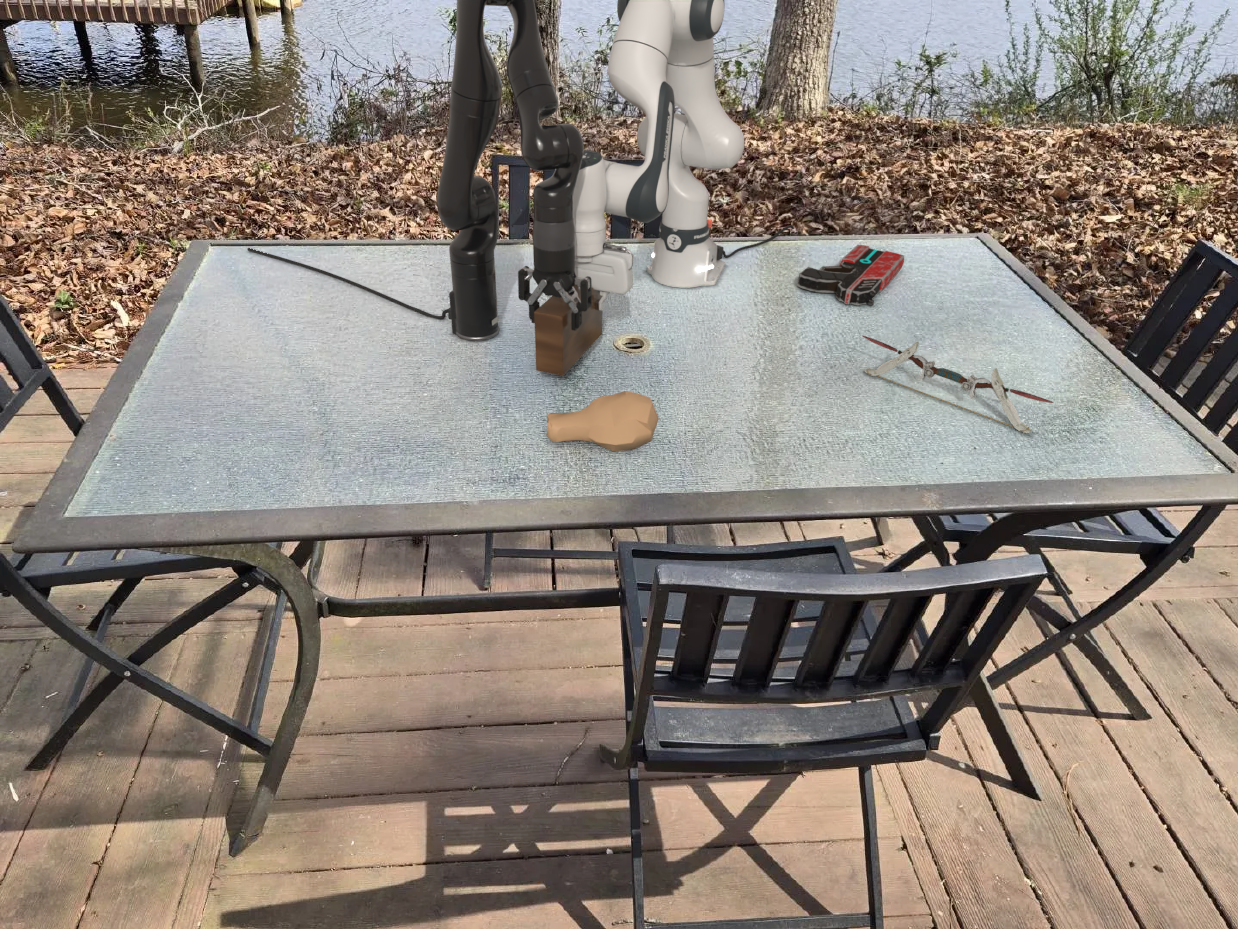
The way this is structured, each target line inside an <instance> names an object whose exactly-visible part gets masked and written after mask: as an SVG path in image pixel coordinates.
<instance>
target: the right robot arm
mask: <svg viewBox="0 0 1238 929" xmlns="http://www.w3.org/2000/svg"><path fill="white" fill-rule="evenodd" d="M725 6H726V5H725V0H617V5H616V8H617V9H616V12H617V13H616V14H617V18H618V22H619V23H618V26H617V28H616V32H615V36H614V39H613V42H612V46H611V50H610V53H609V57H608V63H607V76H608V79H609V82H610V84H611V86H612V88H613V89H614V90H615V92H616V93H617V94H618V95H619V96H620V97H621V98H622V99H623V100H625V101H626V102H627V103H629V104H630V105H632V106H634V107H635V108H637V109H639V110H640V111H641V112H643V113H644V114H645V117H644V118H643V119H642V120H641V122H640V124H639V125H638V128H637V133H636V143H637V147H638V149H639V151H640V153H641V155H642V156H643V157H644V161H643V163H642V164H641V165H639V166H637V165H632V164H625V163H618V162H617V161H610V160H606V159H604V156H603V155H602V154H601V153H599V152H598V151H595V150H589V149H585V150H584V152H583V158H582V163H581V166H580V170H579V173H578V177H577V182H576V186H575V190H574V195H573V219H574V227H575V274H576V276H577V277H580V278H586V277H587V276H589V277H591V280H592V288H593V289H594V290H599V291H600V295H601V296H602V295H603V296H602V298H601V299H598V300H597V301H596V302H595V310H600V311H602V312H603V310H604V309H605V306H606V305H605V304H606V303H605V302H606V300H607V298H608V297H609V295H610V294H616V295H623V296H624V295H626V294H627V293H629V291H631V289H632V288H633V286H634V275H633V274H634V273H633V266H634V253H633V252H632V251H631V250H630V249H628V248H627V247H626V246H624V245H615V244H612V243H607V221H606V217H605V213H606V214H607V215H613V216H619V217H624V218H628V219H631V220H633V221H636V222H640V223H644V224H648V223H650V222H652V221H655V219H658V217H660V216H661V220H660V223H659V227H658V228H659V229H658V231H659V234H658V235H659V237H658V238H657V239H656V240H655V241H654V243H653V249H652V253H651V259H652V260H651V265H649V266H646V272H647V273H648V274H649V275H651V277H652V279H653V280H654V281H655V282H657V283H659V284H661V285H663V286H666V287H667V286H668V287H672V288H679V289H680V288H682V289H688V288H690V289H691V288H697V287H703V286H706V287H707V286H709V287H710V286H711V287H712V286H716V285H717V283H718V281H719V279H720V277H721V275H722V273H723V271H724V269H725V267H726V262H725V261H723V260H722V259H723V257H724V259H729V258H731V257H733V256H734V255H735V254H736V253H738V252H741V251H743V250H748V249H751V248H756V247H758V246H761V245H763V244H767V243H768V242H771V241H772V240H774V239H775V238H777V237H778V236H779V235H780V234H782V233H783V232H785V231H786V230H788V229H791V230H795V226H793V225H791V224H789V225H787V226H784V227H783V228H781V229H780V230H778V231H777V232H776V233H775V234H773V235H772V236H771V237H768V238H767V239H764V240H762V241H759V242H757V243H753V244H749V245H745V246H741V247H739V248H736V249H735V250H734V251H732V252H731V253H729V254H727V253H726V251H725V250H724V247H723V246H721V245H718V244H716V242H714V240H712V238H710V229H711V228H712V227H713V224H714V223H713V219H708V216H709V203H710V194H709V191H708V189H707V187H706V185H705V184H704V183H703V182H701V181H700V180H699V179H698V178H696V177H695V176H694V174H693V173H692V171H691V168H690V167H694V168H701V169H707V170H725V169H732V168H733V167H734V166H736V165H737V164H738V163H739V161H740V160H741V158H742V156H743V154H744V150H745V135H744V132H743V131H742V129H741V127H740V126H739V125H738V124H737V123H736V122H734V120H732V119H731V118H730V117H729V115H728V114H727V112H726V111H725V110H724V107H723V106H722V103H721V102H720V99H719V97H718V94H717V88H716V80H715V45H714V37H715V36H716V35H717V34H718V33H719V32H720V30H721V28H722V25H723V22H724V17H725ZM675 106H676V107H677V108H678V109H680V110H681V111H682V113H683V114H682V113H675V109H676V108H675ZM534 268H535V267H534V266H533V269H534ZM575 285H577V284H575Z"/></svg>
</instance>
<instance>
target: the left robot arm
mask: <svg viewBox="0 0 1238 929" xmlns="http://www.w3.org/2000/svg"><path fill="white" fill-rule="evenodd" d="M486 6H488V7H489V6H492V7H507V9H508V10H509V13H510V15H511V18H512V21H513V34H512V39H511V42H510V46H509V50H508V56H507V58H506V59H507V60H506V73H507V74H506V75H507V79H508V82H509V86H510V89H511V92H512V95H513V98H514V101H515V102H514V103H515V105H516V108H517V112H518V113H517V114H518V119H519V120H518V121H519V130H520V131H519V132H520V153H521V156H522V160H523V161H524V163H525V164H526V166H527V167H528V168H530V169H531V170H533V171H535V172H543V171H551V170H554V172H553V174H552V176H550V177H549V178H546V179H544V180H542V181H540V182H538V183H537V184H536V185H535V186H534V187H533V191H532V204H533V205H532V206H533V224H532V235H531V236H532V237H531V238H532V250H533V251H532V252H533V253H532V256H533V268H530V266H529V265H525V266H523V267H521V268H520V269H519V270H518V272H517V288H518V289H517V292H518V299H519V300H520V301H524V302H526V304H528V317H529V320H531V323H532V324H535V321H534V312H535V311H536V310H537V309H538V308H539V307H540V306H541V305H540V301H539V299H540V297H541V296H542V295H543V294H544V296H546V297H547V296H548V297H552V296H555V297H558V298H561V297H562V298H563V300H564V301H565V303H566V304H568V305H569V307H570V308H571V310H572V311H573V312H572V313H571V329H572V330H573V331H576V330H577V329H578V328H579V327H580V326H581V324H582V311H584V312H585V311H587V310H588V309H589V308H590V307H591V306H592V280H591V277H589V276H587V277H586V278H580V277H577V276H576V274H575V227H574V219H573V195H574V190H575V186H576V182H577V177H578V173H579V170H580V166H581V163H582V158H583V152H584V148H585V146H584V139H583V136H582V134H581V131H580V130H579V129H578V128H577V126H575V125H573V124H571V123H559V124H549V125H541V123H540V121H543V120H545V119H547V118H549V117H551V116H552V115H554V114H555V113H556V112H557V110H558V108H559V98H558V94H557V92H556V88H555V84H554V82H553V79H552V77H551V73H550V70H549V67H548V64H547V60H546V57H545V54H544V50H543V45H542V41H541V35H540V27H539V20H538V16H537V9H536V4H535V0H456V32H455V33H456V34H455V49H454V58H453V70H452V79H451V86H450V98H449V112H448V113H449V114H448V125H447V133H446V141H445V149H444V158H443V162H442V167H441V173H440V177H439V182H438V188H437V193H436V209H437V213H438V216H439V219H440V221H441V222H442V224H443V225H444V227H446V228H447V229H449V230H451V231H459V232H458V234H457V235H456V236H455V238H453V240H452V241H451V242H450V244H449V247H448V251H449V263H450V264H449V265H450V275H451V276H450V277H451V286H452V290H451V291H450V292H448V297H449V308H446V309H444V310H443V311H442V313H441V315H435V314H432V313H429V312H427V311H424V310H422V309H420V308H417V307H415V306H412V305H409V304H407V303H405V302H402V301H400V300H398V299H396V298H394V297H392V296H389V295H386V294H384V293H382V292H380V291H377V290H374V289H372V288H370V287H367V286H365V285H363V284H361V283H358V282H356V281H353V280H351V279H349V278H346V277H342V276H340V275H337V274H335V273H331V272H329V271H326V270H323V269H320V268H317V267H314V266H311V265H308V264H306V263H302V262H299V261H295V260H292V259H288V258H285V257H282V256H279V255H275V254H271V253H268V252H265V253H263V252H264V251H261V250H258V251H256V250H257V249H255V248H251V247H247V251H248V252H250V253H253V254H257V255H260V256H264V257H267V258H271V259H274V260H278V261H280V262H285V263H287V264H291V265H295V266H298V267H301V268H305V269H307V270H310V271H314V272H316V273H319V274H322V275H325V276H327V277H330V278H333V279H335V280H336V279H337V281H341V282H344V283H347V284H349V285H352V286H353V287H356V288H359V289H362V290H363V291H366V292H369V293H371V294H374V295H376V296H378V297H381V298H382V299H384V300H387V301H389V302H392V303H394V304H395V305H396V304H397V305H399V306H400V307H403V308H406V309H408V310H410V311H412V312H415V313H418V314H420V315H423V316H425V317H427V318H431V319H435V320H439V321H440V320H445V318H446V315H447V314H448V315H447V316H448V320H451V321H450V322H451V332H452V334H453V335H456V336H457V337H458V338H460V339H462V340H464V341H470V342H479V341H481V342H482V341H486V340H487V341H488V340H491V339H493V338H494V337H495V338H496V337H497V335H499V333H500V327H499V321H500V320H499V312H498V311H499V310H498V296H497V295H498V294H497V293H498V292H497V276H496V275H497V274H496V261H495V259H496V258H495V248H496V246H497V243H498V203H497V202H498V201H497V196H496V194H495V190H494V188H493V186H492V185H491V183H490V182H489V181H488V180H487V179H486V178H484V177H482V176H480V175H475V172H476V169H477V165H478V163H479V162H480V158H481V156H482V155H483V153H484V151H485V149H486V148H487V146H488V144H489V142H490V140H491V138H492V136H493V135H494V132H495V130H496V127H497V125H498V122H499V117H500V110H501V104H502V96H503V95H502V94H503V83H502V77H501V75H500V72H499V70H498V67H497V65H496V62H495V60H494V58H493V56H492V54H491V52H490V49H489V47H488V45H487V42H486V38H485V31H484V16H485V15H484V14H485V7H486ZM250 248H251V249H250ZM253 249H254V250H253ZM260 251H261V252H260ZM267 253H268V254H267ZM534 267H535V268H534ZM532 278H533V280H534V282H535V283H536V285H537V286H536V287H535V288H534V290H533V291H532V292H531V279H532ZM575 284H577V285H578V289H579V290H580V291H581V301H580V299H579V298H578V293H577V292H576V290H575V288H574V287H573V286H574V285H575ZM568 292H569V294H570V296H569V295H568Z"/></svg>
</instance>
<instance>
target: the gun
mask: <svg viewBox="0 0 1238 929" xmlns="http://www.w3.org/2000/svg"><path fill="white" fill-rule="evenodd" d="M904 264H905V255H904V254H902V253H898V252H895V251H888V250H884V251H883V250H879V249H874V248H871V247H870V245H864V244H857V245H856V246H854V247H853V248H852V249H851V250H850V251H849V252H848V253H847V254H845V256H843V257H842V258H841V259H840V262H839V264H838V265H828V266H825V265H824V266H822V267H820V268H819V269H817V268H814V267H810V266H806V268H804V269H803V270H802V271H801V272H799V273H798V278H797V284H796V286H797V287H799V288H800V289H803V290H807V291H810V292H814V293H826V294H828V293H829V294H835V298H836V299H837V300H838V302H843V304H845V305H854V306H860V305H867V306H872V307H874V304H875V300H874V298H875V297H876V296H877V295H878V294H879V293H882V292H883V291H884V290H885V289H886V288H887V287H888V286H889V285H890V284H891V282H892V281H893V280H894V279H895V277H896V276H897V275H898V273H899V272H900V271H901V270H902V268H903V265H904Z"/></svg>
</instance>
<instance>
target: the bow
mask: <svg viewBox="0 0 1238 929" xmlns="http://www.w3.org/2000/svg"><path fill="white" fill-rule="evenodd" d="M861 336H862V338H864V339H866V340H867V341H869V342H871V343H873V344H876V345H877V346H880V347H882V348H883V349H886V350H890V351H892V352H895V353H897V354H898V355H897V357H893V358H891V359H890V360H887V361H885V362H884V363H882V364H881V365H880V366H878V367H877V368H869V367H868V368H866V369H864V371H863V372H864V373H865V374H867V375H869V376H872V377H878V378H881V379H883V380H885V381H888V382H891V383H894V384H897V385H899V386H902V387H904V388H907V389H909V390H913V391H915V392H918V393H920V394H923V395H925V396H929V397H931V398H934V399H936V400H939V401H942V402H945V403H947V404H950V405H952V406H955V407H957V408H961V409H964V410H966V411H968V412H971V413H974V414H976V415H979V416H982V417H984V418H987V419H990V420H992V421H995V422H998V423H1001V424H1003V425H1006V426H1008V427H1011V428H1014V429H1015V430H1017V431H1018V432H1020V433H1024V434H1030V433H1031V432H1032V431H1033V429H1032V428H1030V427H1029V426H1027V424H1024V423H1023V422H1022V421H1021V418H1020V415H1019V412H1018V410H1017V409H1016V406H1015V405H1014V403H1013V402H1012V400H1011V399H1010V398H1009V396H1008V394H1007V393H1008V392H1010V393H1012V394H1015V395H1018V396H1020V397H1023V398H1025V399H1026V398H1027V399H1031V400H1034V401H1038V402H1042V403H1043V402H1044V403H1050V404H1054V401H1052V400H1049V399H1046V398H1044V397H1041V396H1038V395H1035V394H1032V393H1028V392H1025V391H1021V390H1017V389H1015V388H1014V389H1013V388H1009V387H1005V384H1004V381H1003V379H1002V378H1001V376H1000V374H999V370H998V369H999V368H997V367H995V368H994V369H993V370H992V372H991V377H990V380H989V379H988V378H985V377H977V376H975V375H974V374H971V375H970V376H969V377H967V378H966V377H964V375H963V374H961V373H959V372H956V371H953V370H950V369H948V368H944V367H936V366H935V365H936V361H935V360H933V361H931V360H930V361H928V360H927V358H925V357H924V356H922V355H920V354H916V352H917V351H918V348H919V343H920V342H919V341H916V342H914V343H913V344H912V345H911V346H910V347H908V348H906V349H904V350H903V351H902V350H900V349H897V348H896V347H895V346H891V345H890V344H887V343H885V342H882V341H880V340H877V339H874V338H872V337H869V336H866V335H861ZM915 354H916V355H915ZM908 361H912V362H913V363H914V364H915V365H916V366H917V367H918V368H920V369H921V373H920V374H919V377H918V379H917V380H918V381H921V382H923V381H924V380H925V379H926V378H929V379H932V378H933V377H934V376H935V375H936V376H939V377H941V378H943V379H947V380H948V381H952V382H956V383H957V384H961V389H962V390H963V391H965V392H969V393H968V395H969V396H968V399H971V400H974V399H976V397H977V396H976V395H977V391H976V390H977V389H991V390H992V391H993V393H994V394H995V396H996V398H997V400H998V401H999V402H1000V405H1001V407H1002V409H1003V411H1004V413H1005V415H1006V417H1007V419H1008V420H1009V422H1010V424H1009V423H1007V422H1004V421H1000V420H997V419H995V418H992V417H990V416H988V415H985V414H982V413H979V412H976V411H974V410H972V409H969V408H966V407H963V406H960V405H958V404H955V403H952V402H950V401H947V400H944V399H941V398H939V397H937V396H933V395H931V394H928V393H926V392H923V391H920V390H917V389H916V388H912V387H909V386H907V385H904V384H901V383H899V382H897V381H893V380H891V379H888V378H886V377H883V376H880V375H882V374H886V373H888V372H890V371H891V370H893V369H894V368H896V367H898V366H900V365H902V364H905V363H906V362H908ZM1011 424H1012V425H1011Z"/></svg>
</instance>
